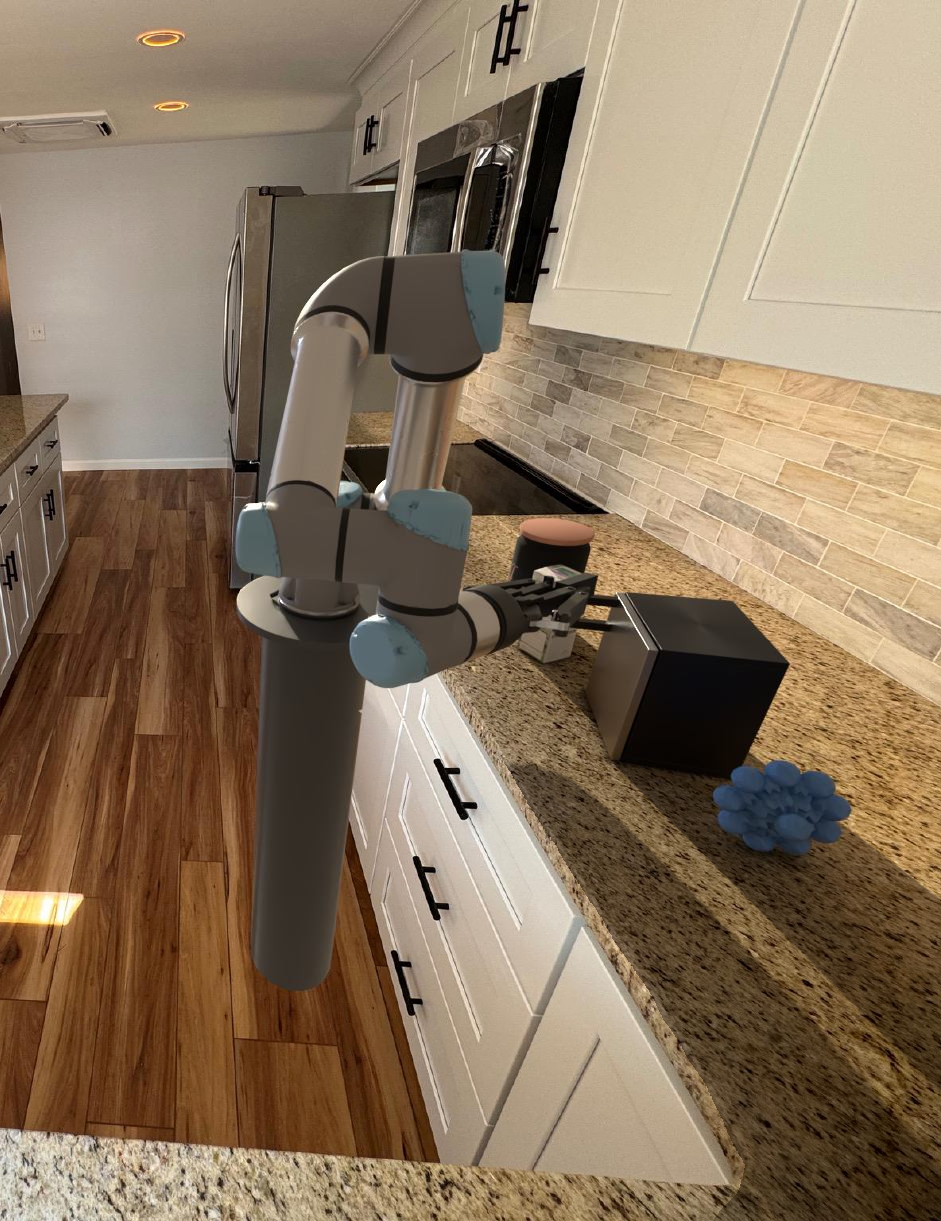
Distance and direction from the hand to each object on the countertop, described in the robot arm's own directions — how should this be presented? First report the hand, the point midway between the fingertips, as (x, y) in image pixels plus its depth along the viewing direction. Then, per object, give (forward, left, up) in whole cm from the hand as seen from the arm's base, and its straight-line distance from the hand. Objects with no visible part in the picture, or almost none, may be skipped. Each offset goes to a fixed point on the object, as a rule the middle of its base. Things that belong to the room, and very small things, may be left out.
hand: (589, 584), depth 84 cm
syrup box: (+2, +20, -22) cm, 30 cm away
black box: (+13, +1, -22) cm, 25 cm away
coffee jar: (+2, +30, -22) cm, 38 cm away
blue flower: (+17, -20, -22) cm, 34 cm away
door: (+4, +1, -22) cm, 22 cm away
